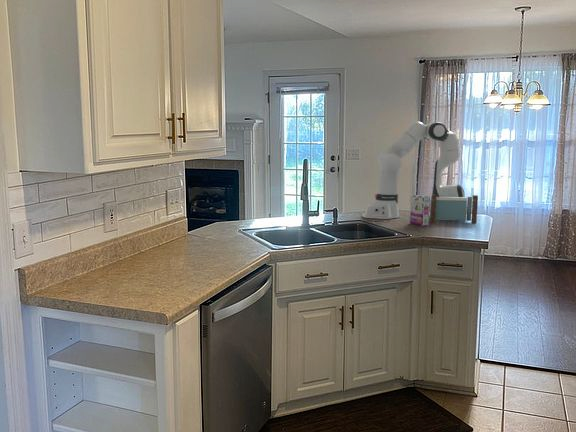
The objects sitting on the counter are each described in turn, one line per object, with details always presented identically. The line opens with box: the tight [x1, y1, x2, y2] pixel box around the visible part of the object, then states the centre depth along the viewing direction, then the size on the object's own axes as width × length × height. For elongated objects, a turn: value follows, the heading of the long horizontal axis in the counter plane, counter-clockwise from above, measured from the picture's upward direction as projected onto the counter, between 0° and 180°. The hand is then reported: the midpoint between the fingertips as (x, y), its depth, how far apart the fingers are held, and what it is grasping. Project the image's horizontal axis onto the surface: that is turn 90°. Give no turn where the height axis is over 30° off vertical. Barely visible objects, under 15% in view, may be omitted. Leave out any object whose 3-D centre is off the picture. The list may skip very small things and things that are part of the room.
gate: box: [429, 196, 473, 222], centre depth 321 cm, size 23×2×14 cm, turn 80°
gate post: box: [471, 194, 479, 225], centre depth 318 cm, size 2×3×16 cm
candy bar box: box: [409, 194, 431, 227], centre depth 314 cm, size 11×5×16 cm, turn 25°
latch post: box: [430, 194, 436, 224], centre depth 320 cm, size 2×2×16 cm
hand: (446, 212), depth 323 cm, fingers closed
